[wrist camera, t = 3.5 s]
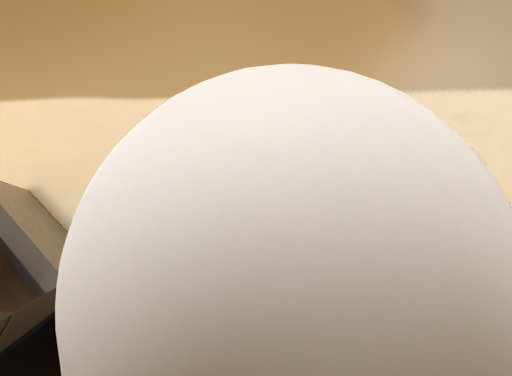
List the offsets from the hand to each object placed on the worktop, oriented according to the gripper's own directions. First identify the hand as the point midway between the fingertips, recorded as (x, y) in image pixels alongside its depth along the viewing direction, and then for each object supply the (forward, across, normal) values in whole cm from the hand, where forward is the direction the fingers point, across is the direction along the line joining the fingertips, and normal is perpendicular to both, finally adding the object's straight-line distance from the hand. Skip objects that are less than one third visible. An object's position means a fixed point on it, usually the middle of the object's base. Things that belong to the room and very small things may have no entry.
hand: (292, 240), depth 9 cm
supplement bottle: (+4, 0, +6) cm, 7 cm away
